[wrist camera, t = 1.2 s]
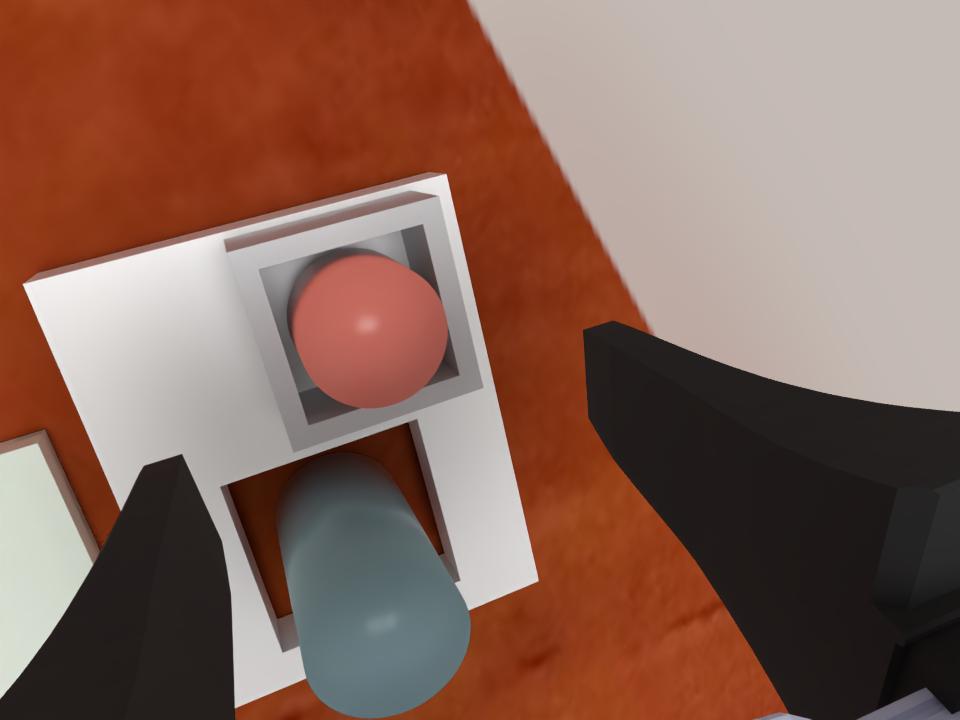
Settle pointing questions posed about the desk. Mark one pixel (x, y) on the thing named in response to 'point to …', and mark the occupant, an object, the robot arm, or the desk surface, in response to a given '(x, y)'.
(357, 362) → the release plunger
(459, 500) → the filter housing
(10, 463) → the tray
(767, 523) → the robot arm
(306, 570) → the cylinder
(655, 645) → the desk surface
